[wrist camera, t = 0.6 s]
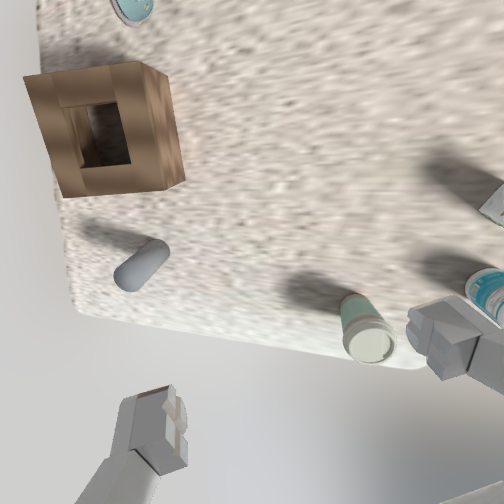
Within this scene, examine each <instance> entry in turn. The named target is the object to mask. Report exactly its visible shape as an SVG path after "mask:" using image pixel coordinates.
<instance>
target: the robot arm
mask: <svg viewBox="0 0 504 504" xmlns="http://www.w3.org/2000/svg"><path fill="white" fill-rule="evenodd" d="M408 317H409V318H410V321H409V323H408V324H407V325H406V334H407V337H408V340H409V342H410V344H411V345H412V347H413V348H414V349H415V350H416V351H417V352H418V353H420V354H422V355H424V356H426V360H427V364H428V365H429V367H430V368H431V369H432V370H433V371H434V372H435V374H436V375H437V376H438V377H439V378H440V379H441V380H442V381H443V380H447V379H450V378H453V377H457V376H460V375H463V374H467V373H468V374H467V375H468V376H470V377H472V378H474V379H475V380H477V381H479V382H481V383H483V384H485V385H486V386H488V387H490V388H492V389H494V390H496V391H497V392H499V393H501V394H503V395H504V328H503V329H499V328H498V327H497V326H496V325H494V324H493V323H492V322H490V321H489V320H488V319H487V318H485V317H484V316H483V315H481V314H480V313H479V312H478V311H476V310H475V309H474V308H472V307H471V306H470V305H469V304H467V303H466V302H465V301H464V300H462V299H461V298H460V297H458V296H456V295H450V296H447V297H444V298H441V299H438V300H434V301H431V302H428V303H425V304H422V305H419V306H416V307H413V308H410V310H409V311H408ZM186 429H187V414H186V408H185V405H184V403H183V401H182V399H181V398H180V397H177V396H176V390H175V388H174V387H173V385H172V384H171V385H168V386H164V387H161V388H158V389H154V390H151V391H147V392H144V393H140V394H137V395H134V396H130V397H128V398H124V399H123V400H122V402H121V404H120V407H119V412H118V418H117V423H116V428H115V433H114V439H113V443H112V448H111V453H110V457H109V458H107V459H104V461H103V462H102V464H101V465H100V467H99V468H98V470H97V472H96V473H95V474H94V476H93V477H92V479H91V480H90V482H89V483H88V485H87V486H86V488H85V489H84V491H83V492H82V494H81V495H80V497H79V498H78V500H77V501H76V503H75V504H150V502H151V500H152V497H153V495H154V493H155V490H156V488H157V486H158V484H159V481H160V479H161V478H160V476H162V475H165V474H168V473H170V472H173V471H176V470H179V469H181V468H184V467H187V466H188V446H187V445H188V443H187V441H186V440H185V438H184V436H183V434H184V433H185V431H186ZM439 504H504V480H503V481H500V482H497V483H494V484H492V485H489V486H486V487H483V488H481V489H478V490H475V491H472V492H470V493H467V494H464V495H461V496H459V497H456V498H453V499H450V500H448V501H445V502H442V503H439Z"/></svg>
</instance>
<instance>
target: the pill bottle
mask: <svg viewBox="0 0 504 504" xmlns="http://www.w3.org/2000/svg"><path fill="white" fill-rule="evenodd" d="M465 293H466V295H467V297H468V298H469V300H470V301H472V302H473V303H474V304H475V305H476V306H477V307H479V308H480V309H481V310H482V311H483V312H484V313H486V314H487V315H488V316H489V317H490V318H491V319H492V320H494V321H495V322H496V323H497V324H498V325H499V326H500V327H502V328H504V271H503V270H500V269H496V268H487V269H483V270H480V271H478V272H476V273H475V274H473V275H472V276H471V277H470V278H469V279H468V281H467V283H466V286H465Z"/></svg>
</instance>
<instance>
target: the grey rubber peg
mask: <svg viewBox="0 0 504 504" xmlns="http://www.w3.org/2000/svg"><path fill="white" fill-rule="evenodd" d="M169 255H170V249H169V247H168V245H167V244H166V243H165V242H164V241H162V240H159V239H153V240H151V241H149V242H148V243H147V244H146V245H145V246H143V247H142V248H141V249H140V250H138V251H137V252H136V253H135V254H133V255H132V256H131V257H130V258H129V259H127V260H126V261H125V262H124V263H122V264H121V265H120V266H119V267H118V268H116V270H115V271H114V281H115V283H116V284H117V285H118V287H119V288H121V289H122V290H124V291H127V292H136V291H138V290H139V289H140V288H141V287H142V286H143V285H144V284H145V283H146V282H147V281H148V280H149V279H150V277H151V276H152V275H153V274H154V273H155V272H156V271H157V270H158V269H159V268H160V266H161V265H162V264H163V263H164V262H165V261H166V260H167V259H168V257H169Z"/></svg>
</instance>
